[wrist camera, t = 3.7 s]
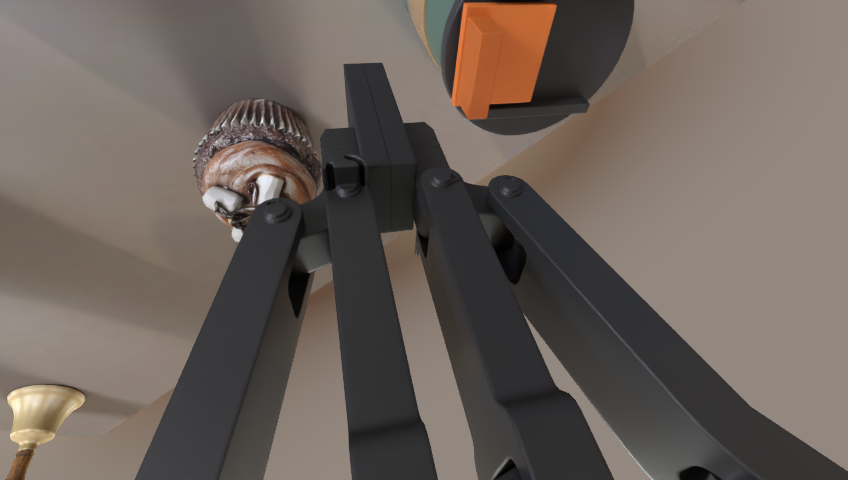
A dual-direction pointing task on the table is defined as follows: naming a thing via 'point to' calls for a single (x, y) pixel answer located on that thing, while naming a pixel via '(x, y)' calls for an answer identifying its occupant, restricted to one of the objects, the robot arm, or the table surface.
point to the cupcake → (255, 161)
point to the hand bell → (38, 419)
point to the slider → (499, 53)
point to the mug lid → (553, 62)
